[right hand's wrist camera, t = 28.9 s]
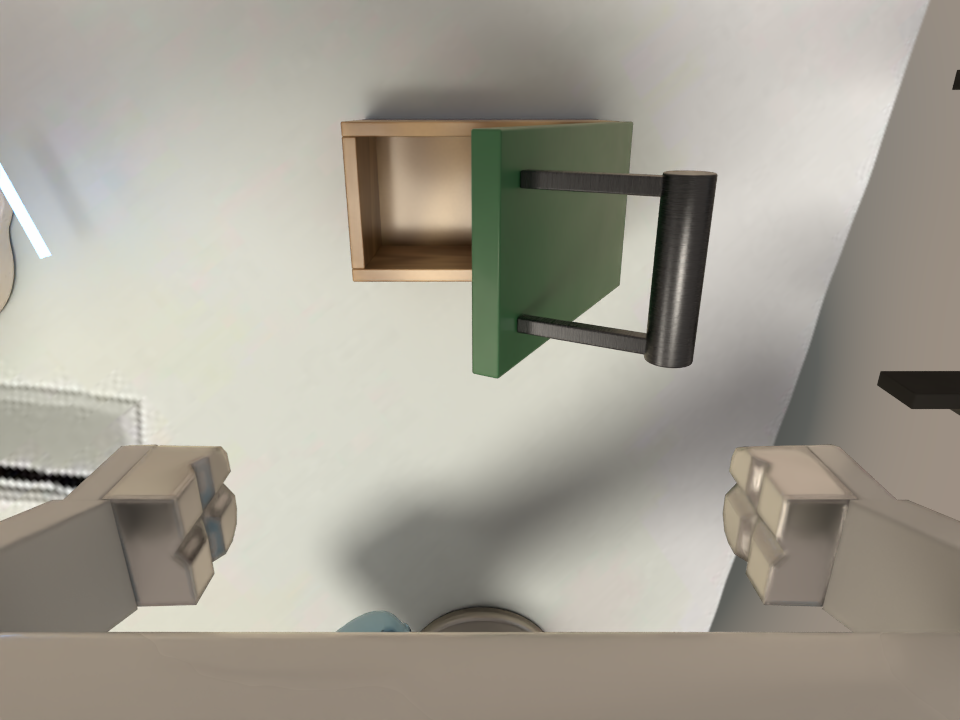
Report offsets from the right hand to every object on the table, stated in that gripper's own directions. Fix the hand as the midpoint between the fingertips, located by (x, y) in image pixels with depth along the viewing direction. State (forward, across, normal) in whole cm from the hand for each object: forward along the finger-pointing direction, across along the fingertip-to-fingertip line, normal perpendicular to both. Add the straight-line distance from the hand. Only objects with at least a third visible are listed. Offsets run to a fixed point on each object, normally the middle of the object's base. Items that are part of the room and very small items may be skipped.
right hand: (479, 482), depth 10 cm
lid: (+24, +4, 0) cm, 24 cm away
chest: (+41, 0, 0) cm, 41 cm away
